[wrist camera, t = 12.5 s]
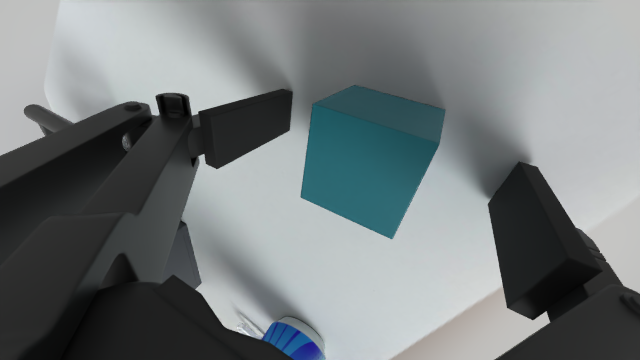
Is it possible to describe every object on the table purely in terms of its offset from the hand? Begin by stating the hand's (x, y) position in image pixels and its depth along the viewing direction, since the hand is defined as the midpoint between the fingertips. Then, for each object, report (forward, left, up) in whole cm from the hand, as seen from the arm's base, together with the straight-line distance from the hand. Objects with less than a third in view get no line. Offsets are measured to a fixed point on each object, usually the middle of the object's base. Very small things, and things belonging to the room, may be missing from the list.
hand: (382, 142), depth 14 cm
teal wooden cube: (0, 0, 0) cm, 0 cm away
